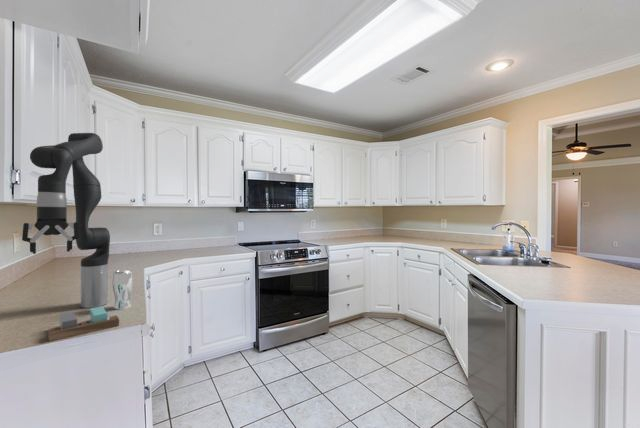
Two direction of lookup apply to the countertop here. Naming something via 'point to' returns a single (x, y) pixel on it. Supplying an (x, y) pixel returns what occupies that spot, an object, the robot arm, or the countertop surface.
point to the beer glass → (122, 288)
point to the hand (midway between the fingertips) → (51, 252)
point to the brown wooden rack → (82, 328)
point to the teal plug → (97, 314)
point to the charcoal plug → (68, 320)
